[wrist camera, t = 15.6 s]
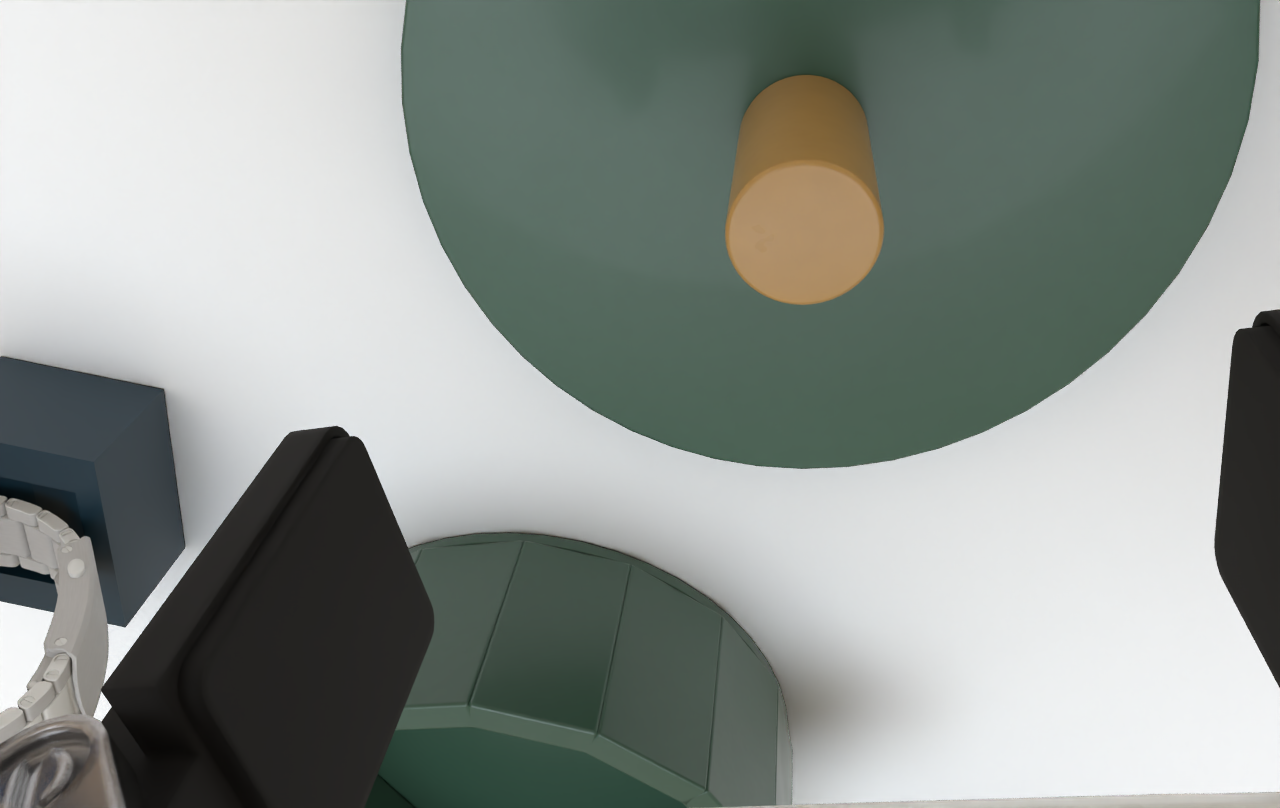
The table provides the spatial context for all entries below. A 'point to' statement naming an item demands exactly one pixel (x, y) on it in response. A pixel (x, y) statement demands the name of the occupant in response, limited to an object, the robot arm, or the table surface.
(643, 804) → the green cooking pot
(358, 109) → the table surface
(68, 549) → the watch
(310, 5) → the table surface
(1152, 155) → the pot lid
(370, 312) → the table surface
